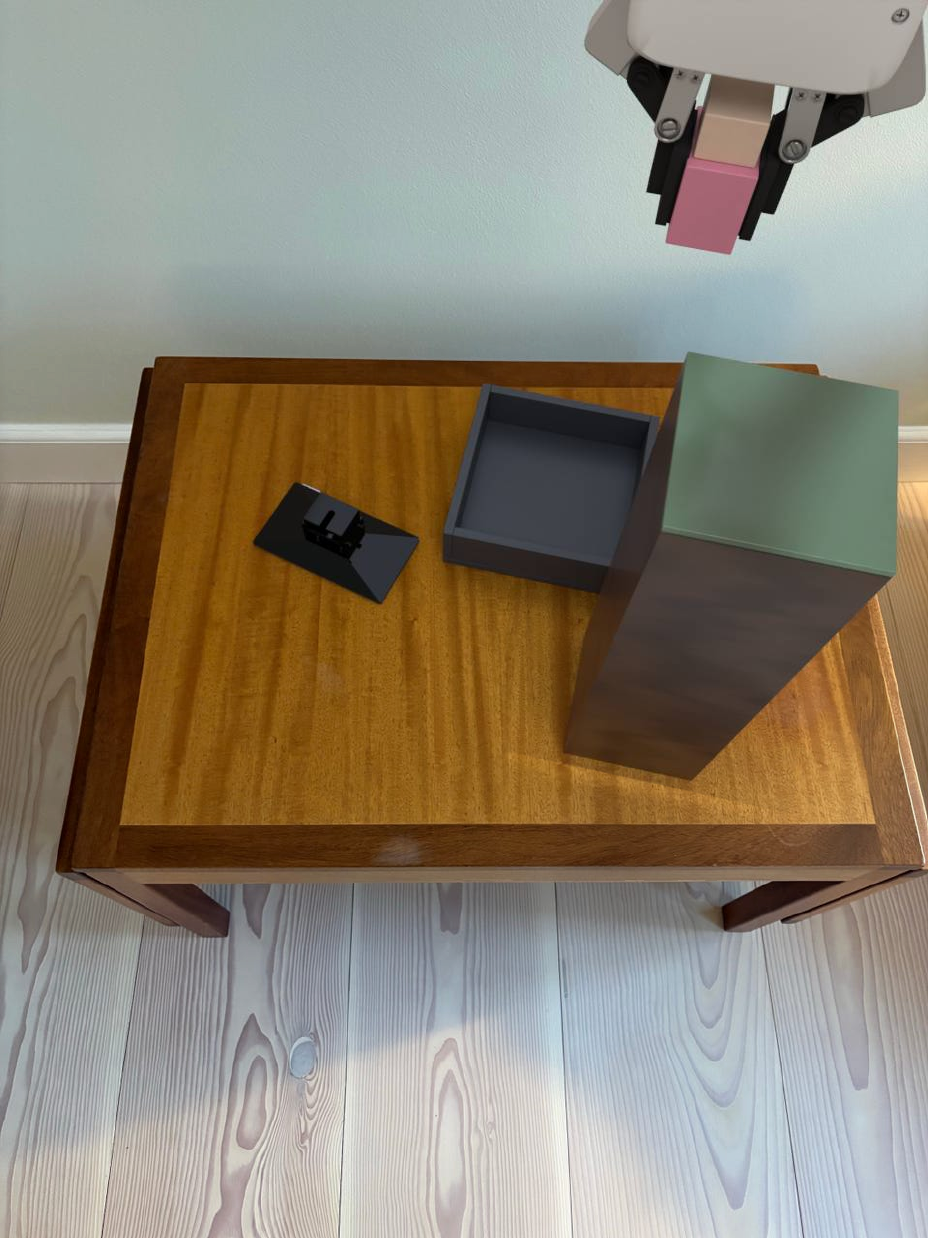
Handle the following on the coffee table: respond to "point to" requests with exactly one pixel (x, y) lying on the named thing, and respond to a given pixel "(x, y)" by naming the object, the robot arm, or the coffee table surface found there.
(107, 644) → the coffee table surface
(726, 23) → the robot arm
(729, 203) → the pink block
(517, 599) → the coffee table surface
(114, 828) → the coffee table surface
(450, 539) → the basin
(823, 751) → the coffee table surface
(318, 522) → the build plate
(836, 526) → the stand
